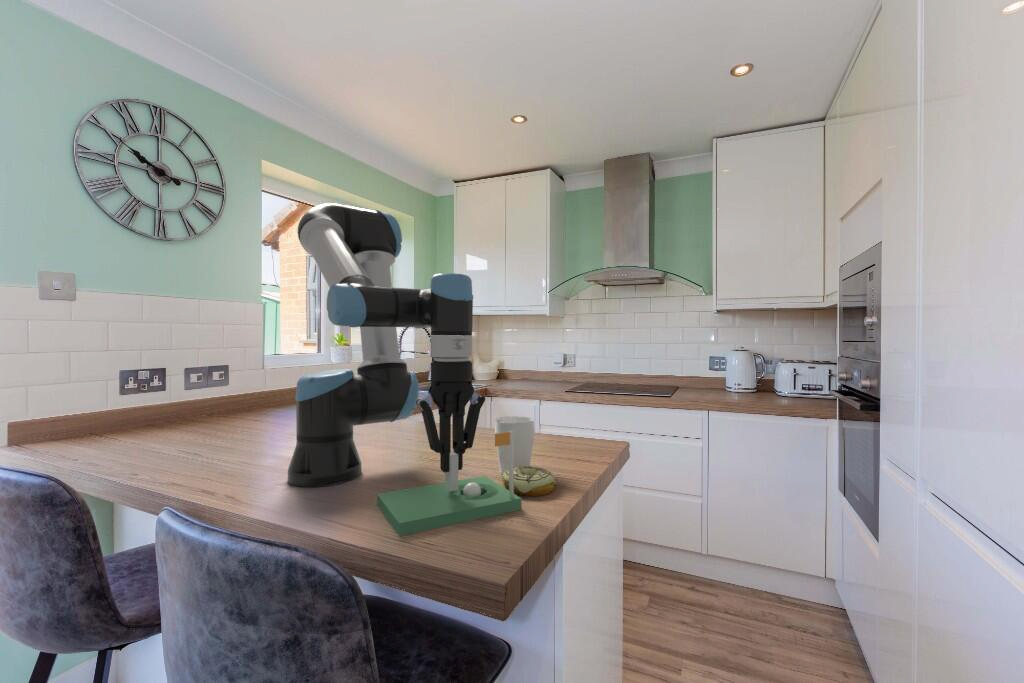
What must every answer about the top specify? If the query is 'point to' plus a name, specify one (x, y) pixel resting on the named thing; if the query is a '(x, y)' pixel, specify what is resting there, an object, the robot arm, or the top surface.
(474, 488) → the ball
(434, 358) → the robot arm
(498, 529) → the top surface
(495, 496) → the green
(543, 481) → the decorated donut
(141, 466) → the top surface
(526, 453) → the cup
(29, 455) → the top surface
